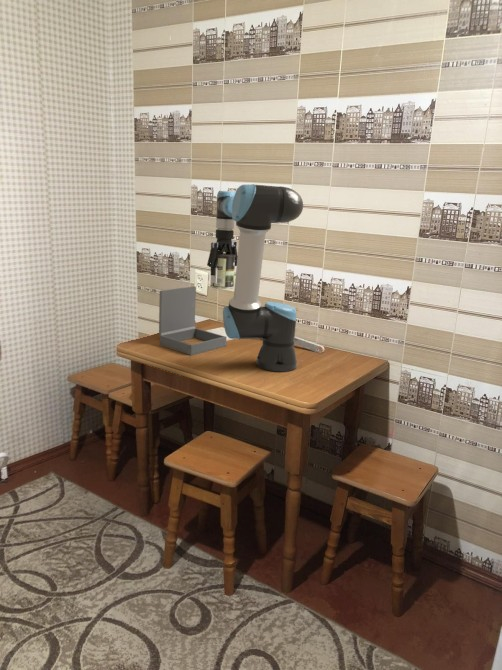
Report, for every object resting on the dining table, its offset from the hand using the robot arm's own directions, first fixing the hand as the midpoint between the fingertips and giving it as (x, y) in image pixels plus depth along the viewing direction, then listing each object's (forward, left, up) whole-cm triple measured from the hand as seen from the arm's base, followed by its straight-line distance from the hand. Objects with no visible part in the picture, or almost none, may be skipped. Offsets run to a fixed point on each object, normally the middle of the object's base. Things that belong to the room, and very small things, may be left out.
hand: (222, 281), depth 228 cm
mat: (0, -2, -24) cm, 24 cm away
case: (-4, +20, -24) cm, 32 cm away
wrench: (-30, -12, -24) cm, 41 cm away
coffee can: (0, 0, -3) cm, 3 cm away
